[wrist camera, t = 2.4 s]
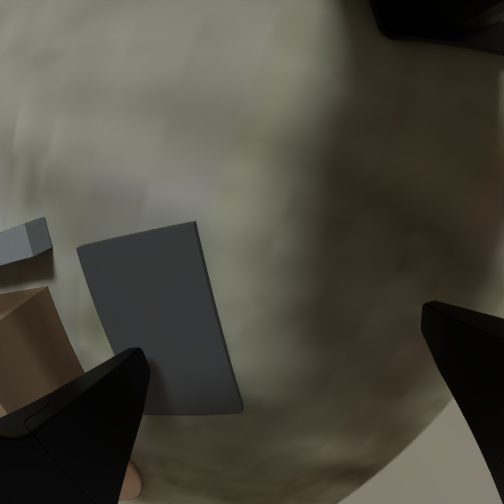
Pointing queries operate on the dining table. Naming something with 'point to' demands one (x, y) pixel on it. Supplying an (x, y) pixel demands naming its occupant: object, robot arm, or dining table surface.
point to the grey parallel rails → (24, 241)
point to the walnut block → (32, 349)
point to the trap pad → (164, 317)
